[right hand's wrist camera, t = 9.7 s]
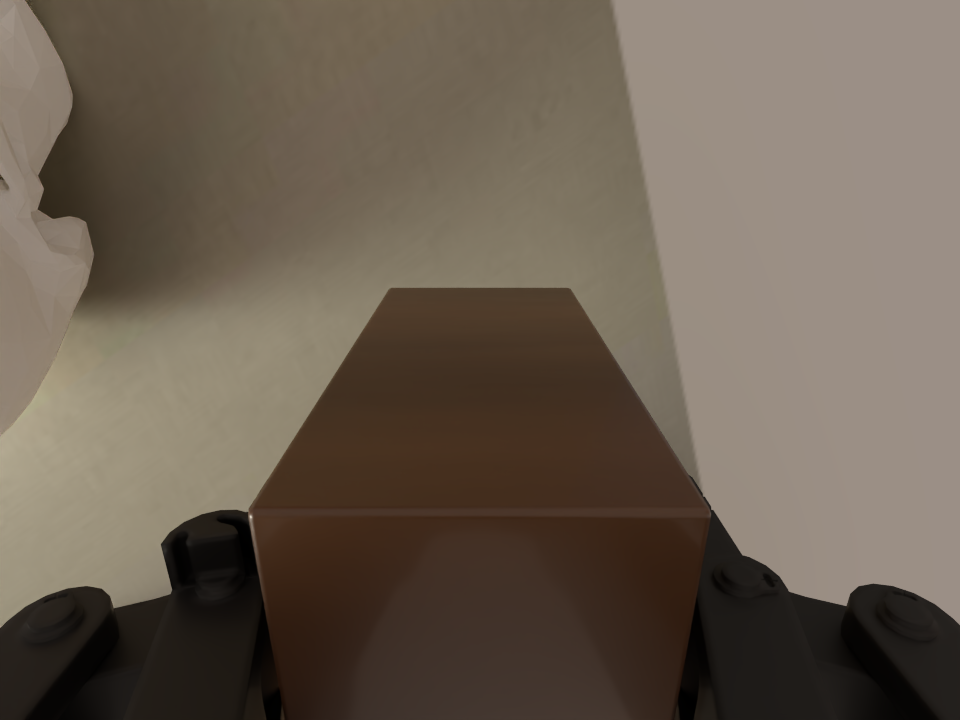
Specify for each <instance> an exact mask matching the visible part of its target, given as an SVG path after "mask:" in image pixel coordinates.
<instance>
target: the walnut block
mask: <svg viewBox="0 0 960 720" xmlns="http://www.w3.org/2000/svg"><path fill="white" fill-rule="evenodd" d="M248 519H249V524H250V530H251V535H252V541H253V546H254V552H255V557H256V563H257V569H258V574H259V580H260V585H261V591H262V596H263V602H264V607H265V613H266V618H267V624H268V629H269V635H270V640H271V646H272V651H273V657H274V663H275V668H276V674H277V679H278V685H279V690H280V696H281V701H282V707H283V712H284V718H285V720H674V719H675V714H676V708H677V702H678V697H679V691H680V686H681V680H682V675H683V669H684V664H685V658H686V652H687V647H688V641H689V636H690V630H691V625H692V619H693V613H694V608H695V602H696V597H697V591H698V586H699V580H700V575H701V569H702V563H703V558H704V552H705V547H706V541H707V536H708V530H709V525H710V519H711V512H710V509H709V507H708V505H707V503H706V502H705V500H704V499H703V497H702V496H701V494H700V492H699V491H698V489H697V488H696V486H695V484H694V483H693V481H692V480H691V478H690V477H689V475H688V473H687V472H686V470H685V469H684V467H683V466H682V464H681V462H680V461H679V459H678V458H677V456H676V455H675V453H674V451H673V450H672V448H671V447H670V445H669V444H668V442H667V440H666V439H665V437H664V436H663V434H662V432H661V431H660V429H659V428H658V426H657V425H656V423H655V421H654V420H653V418H652V417H651V415H650V414H649V412H648V410H647V409H646V407H645V406H644V404H643V403H642V401H641V399H640V398H639V396H638V395H637V393H636V391H635V390H634V388H633V387H632V385H631V384H630V382H629V380H628V379H627V377H626V376H625V374H624V373H623V371H622V369H621V368H620V366H619V365H618V363H617V362H616V360H615V358H614V357H613V355H612V354H611V352H610V350H609V349H608V347H607V346H606V344H605V343H604V341H603V339H602V338H601V336H600V335H599V333H598V332H597V330H596V328H595V327H594V325H593V324H592V322H591V321H590V319H589V317H588V316H587V314H586V313H585V311H584V310H583V308H582V306H581V305H580V303H579V302H578V300H577V298H576V297H575V295H574V294H573V292H572V291H571V289H569V288H391V289H389V290H388V292H387V293H386V295H385V296H384V298H383V300H382V301H381V303H380V304H379V306H378V307H377V309H376V311H375V312H374V314H373V315H372V317H371V318H370V320H369V322H368V323H367V325H366V326H365V328H364V329H363V331H362V333H361V334H360V336H359V337H358V339H357V340H356V342H355V343H354V345H353V347H352V348H351V350H350V351H349V353H348V354H347V356H346V358H345V359H344V361H343V362H342V364H341V365H340V367H339V369H338V370H337V372H336V373H335V375H334V376H333V378H332V380H331V381H330V383H329V384H328V386H327V387H326V389H325V391H324V392H323V394H322V395H321V397H320V398H319V400H318V402H317V403H316V405H315V406H314V408H313V409H312V411H311V413H310V414H309V416H308V417H307V419H306V420H305V422H304V423H303V425H302V427H301V428H300V430H299V431H298V433H297V434H296V436H295V438H294V439H293V441H292V442H291V444H290V445H289V447H288V449H287V450H286V452H285V453H284V455H283V456H282V458H281V460H280V461H279V463H278V464H277V466H276V467H275V469H274V471H273V472H272V474H271V475H270V477H269V478H268V480H267V482H266V483H265V485H264V486H263V488H262V489H261V491H260V493H259V494H258V496H257V497H256V499H255V500H254V502H253V503H252V505H251V507H250V509H249V512H248Z"/></svg>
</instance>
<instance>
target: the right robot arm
mask: <svg viewBox="0 0 960 720" xmlns="http://www.w3.org/2000/svg"><path fill="white" fill-rule="evenodd" d="M689 477H690V478H691V480H692V481H693V483H694V484H695V486H696V488H697V489H698V491H699V492H700V494H701V496H702V497H703V493H702V492H701V490H700V489H699V487H698V486H697V484H696V483H695V481H694V479H693V478H692V477H691V476H689ZM267 480H268V479H267ZM266 482H267V481H266ZM264 485H265V484H264ZM262 488H263V487H262ZM260 491H261V490H260ZM259 493H260V492H259ZM257 496H258V495H257ZM703 499H704V500H705V502H706V503H707V505H708V507H709V509H710V512H711V519H710V525H709V530H708V536H707V541H706V547H705V552H704V558H703V563H702V569H701V575H700V580H699V586H698V591H697V597H696V602H695V608H694V613H693V619H692V625H691V630H690V636H689V641H688V647H687V652H686V658H685V664H684V669H683V675H682V680H681V686H680V691H679V697H678V702H677V708H676V714H675V719H674V720H960V625H959V624H958V623H957V622H956V621H955V620H954V619H953V618H952V617H950V616H949V615H948V614H947V613H945V612H944V611H943V610H941V609H940V608H939V607H938V606H936V605H935V604H933V603H931V602H929V601H928V600H926V599H924V598H922V597H920V596H918V595H916V594H914V593H912V592H909V591H906V590H903V589H899V588H896V587H894V586H887V585H879V584H869V585H864V586H859V587H857V588H856V589H855V590H854V591H853V592H852V593H851V594H850V597H849V600H848V603H847V606H843V605H839V604H834V603H830V602H826V601H821V600H817V599H812V598H808V597H804V596H801V595H798V594H794V593H791V592H789V591H788V589H787V587H786V586H785V584H784V583H783V581H782V580H781V578H780V577H779V576H778V575H777V574H776V573H774V572H773V571H772V570H771V569H770V568H768V567H767V566H766V565H764V564H762V563H760V562H758V561H756V560H754V559H752V558H750V557H747V556H743V555H742V554H741V553H740V551H739V550H738V548H737V546H736V545H735V543H734V542H733V540H732V539H731V537H730V536H729V534H728V533H727V531H726V529H725V528H724V526H723V525H722V523H721V522H720V520H719V518H718V517H717V515H716V514H715V512H714V511H713V510H711V506H710V504H709V503H708V501H707V500H706V498H705V497H703ZM253 502H254V501H253ZM250 507H251V506H250ZM249 509H250V508H249ZM161 547H162V551H163V555H164V559H165V563H166V567H167V570H168V574H169V578H170V582H171V586H172V592H171V594H170V595H167V596H163V597H160V598H157V599H153V600H149V601H144V602H140V603H136V604H131V605H127V606H123V607H118V608H113V605H112V602H111V598H110V596H109V595H108V594H107V593H106V592H105V591H104V590H102V589H100V588H94V587H89V586H84V587H76V588H68V589H65V590H62V591H59V592H56V593H53V594H50V595H47V596H45V597H43V598H41V599H39V600H37V601H36V602H34V603H32V604H30V605H28V606H26V607H25V608H23V609H22V610H21V611H20V612H18V613H17V614H16V615H15V616H13V617H12V618H11V619H10V620H8V621H7V622H6V623H5V624H4V625H3V626H2V627H1V628H0V720H285V718H284V712H283V707H282V701H281V696H280V690H279V685H278V679H277V674H276V668H275V663H274V657H273V651H272V646H271V640H270V635H269V629H268V624H267V618H266V613H265V607H264V602H263V596H262V591H261V585H260V580H259V574H258V569H257V563H256V557H255V552H254V546H253V541H252V535H251V530H250V524H249V519H248V512H242V511H239V510H219V511H215V512H210V513H206V514H202V515H199V516H197V517H195V518H193V519H190V520H188V521H186V522H184V523H182V524H181V525H180V526H178V527H177V528H175V529H174V530H173V531H171V532H170V533H169V534H168V536H167V537H166V538H165V540H164V541H163V542H162V544H161Z"/></svg>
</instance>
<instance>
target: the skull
mask: <svg viewBox="0 0 960 720" xmlns="http://www.w3.org/2000/svg"><path fill="white" fill-rule="evenodd" d="M72 102H73V94H72V91H71V87H70V84H69V81H68V78H67V75H66V72H65V68H64V65H63V63H62V61H61V59H60V57H59V55H58V53H57V52H56V50H55V48H54V46H53V44H52V42H51V40H50V38H49V36H48V35H47V33H46V31H45V29H44V28H43V26H42V25H41V23H40V22H39V20H38V19H37V17H36V16H35V15H34V13H33V12H32V10H31V9H30V7H29V6H28V4H27V3H26V1H25V0H0V175H1V176H2V177H3V179H4V180H5V181H4V180H1V179H0V436H1V435H2V434H3V433H4V432H5V431H6V430H7V429H8V428H9V427H10V426H11V425H12V424H13V423H14V422H15V421H16V420H17V418H18V417H19V416H20V415H21V413H22V412H23V411H24V410H25V408H26V407H27V406H28V405H29V404H30V402H31V401H32V399H33V397H34V395H35V394H36V392H37V390H38V388H39V386H40V385H41V383H42V381H43V379H44V377H45V375H46V374H47V372H48V370H49V368H50V366H51V364H52V363H53V361H54V359H55V357H56V355H57V352H58V350H59V347H60V345H61V342H62V340H63V338H64V335H65V333H66V330H67V328H68V325H69V322H70V319H71V317H72V314H73V311H74V309H75V307H76V305H77V303H78V301H79V299H80V297H81V295H82V293H83V291H84V289H85V288H86V286H87V283H88V279H89V275H90V270H91V266H92V262H93V258H94V252H93V248H92V244H91V240H90V236H89V232H88V228H87V224H86V222H85V221H83V220H81V219H79V218H76V217H70V216H67V217H62V218H56V219H52V218H50V217H49V216H47V215H46V214H44V213H43V212H41V211H39V210H38V206H39V203H40V200H41V197H42V194H43V191H44V188H43V186H42V184H41V181H40V179H39V177H38V175H39V173H40V171H41V169H42V167H43V165H44V163H45V161H46V159H47V157H48V155H49V153H50V151H51V149H52V147H53V145H54V143H55V141H56V139H57V137H58V135H59V134H60V132H61V131H62V130H63V128H64V127H65V126H66V124H67V122H68V119H69V116H70V112H71V109H72Z"/></svg>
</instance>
